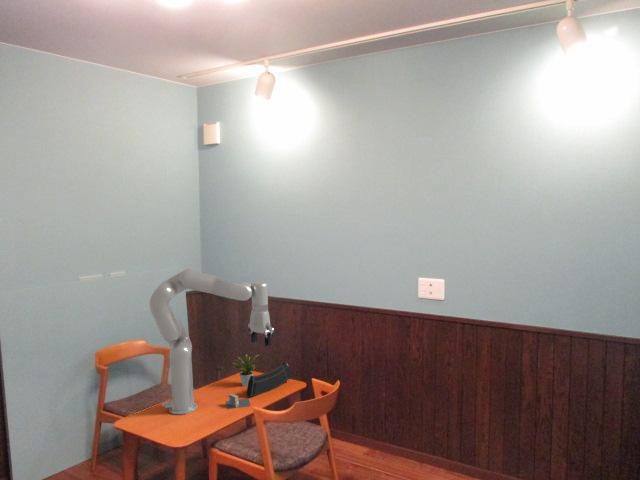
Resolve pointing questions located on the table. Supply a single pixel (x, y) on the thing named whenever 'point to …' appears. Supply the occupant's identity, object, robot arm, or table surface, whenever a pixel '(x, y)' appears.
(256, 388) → the magazine
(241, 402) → the mat
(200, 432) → the table surface
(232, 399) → the tile
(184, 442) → the table surface
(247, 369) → the house plant
